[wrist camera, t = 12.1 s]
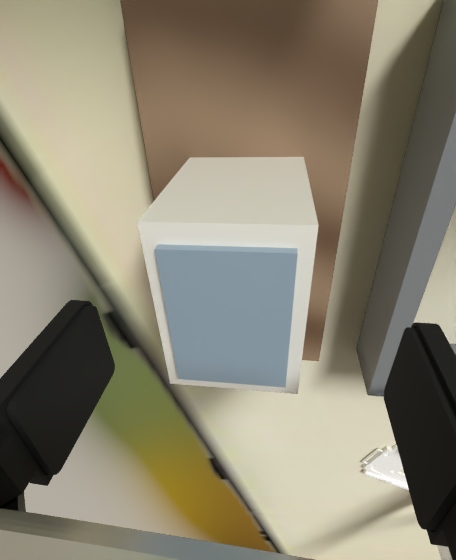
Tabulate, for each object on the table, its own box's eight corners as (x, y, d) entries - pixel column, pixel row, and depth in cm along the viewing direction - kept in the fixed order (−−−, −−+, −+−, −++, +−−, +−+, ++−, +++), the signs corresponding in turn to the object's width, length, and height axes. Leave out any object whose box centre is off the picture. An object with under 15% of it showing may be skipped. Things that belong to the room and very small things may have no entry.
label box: (303, 156, 14) (319, 230, 9) (292, 289, 18) (297, 400, 13) (189, 157, 15) (132, 226, 9) (202, 285, 19) (168, 389, 13)
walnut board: (316, 347, 22) (318, 361, 21) (183, 338, 23) (179, 351, 22) (373, -12, 12) (380, -17, 11) (132, 3, 13) (120, 0, 12)
